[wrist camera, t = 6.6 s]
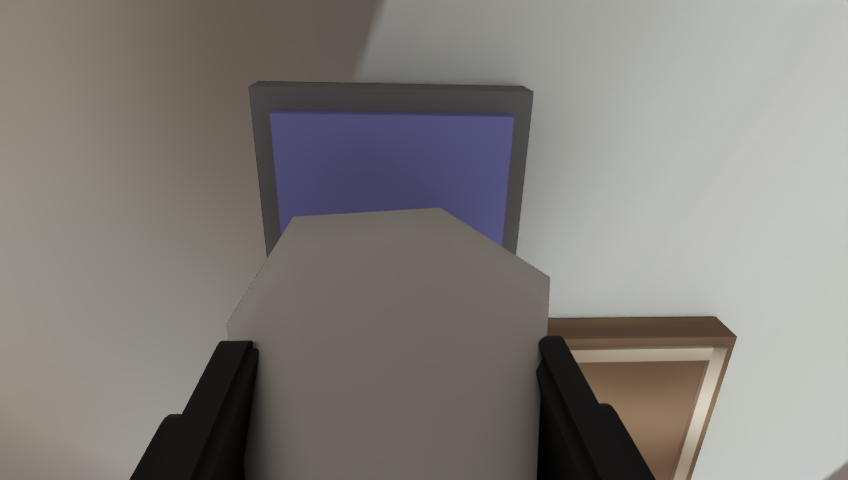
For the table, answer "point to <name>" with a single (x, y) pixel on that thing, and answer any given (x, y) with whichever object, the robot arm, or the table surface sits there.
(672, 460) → the marked board
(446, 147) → the ink pad
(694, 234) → the table surface
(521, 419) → the flask
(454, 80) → the table surface
